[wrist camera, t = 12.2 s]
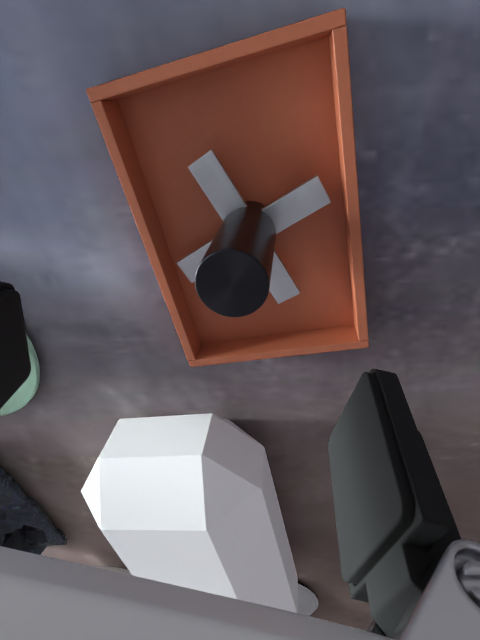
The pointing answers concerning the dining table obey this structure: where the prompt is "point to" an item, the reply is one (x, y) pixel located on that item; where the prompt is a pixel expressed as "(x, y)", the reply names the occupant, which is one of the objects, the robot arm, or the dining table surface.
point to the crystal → (194, 508)
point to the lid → (24, 385)
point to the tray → (248, 181)
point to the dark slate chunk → (24, 520)
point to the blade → (245, 242)
